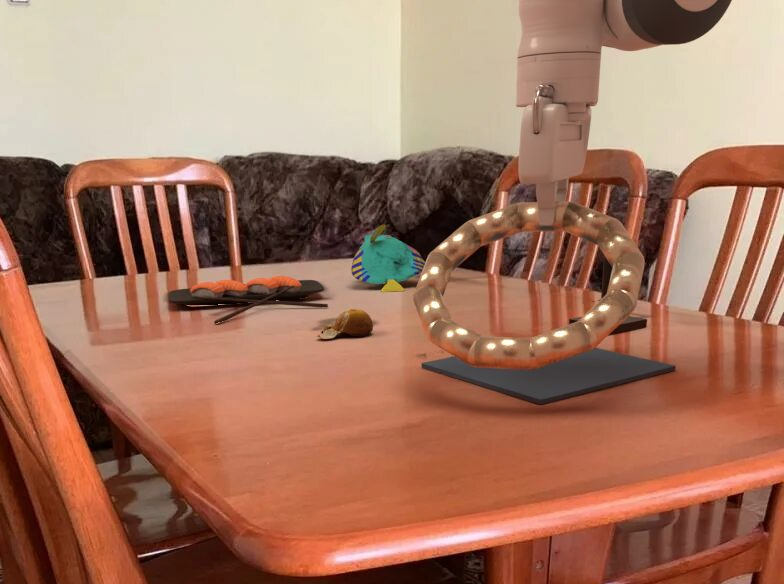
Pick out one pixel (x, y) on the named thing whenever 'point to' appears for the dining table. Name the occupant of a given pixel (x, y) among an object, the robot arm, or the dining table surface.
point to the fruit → (349, 324)
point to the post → (630, 321)
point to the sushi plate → (248, 293)
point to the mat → (555, 375)
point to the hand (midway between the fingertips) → (551, 223)
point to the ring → (551, 343)
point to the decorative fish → (386, 261)
